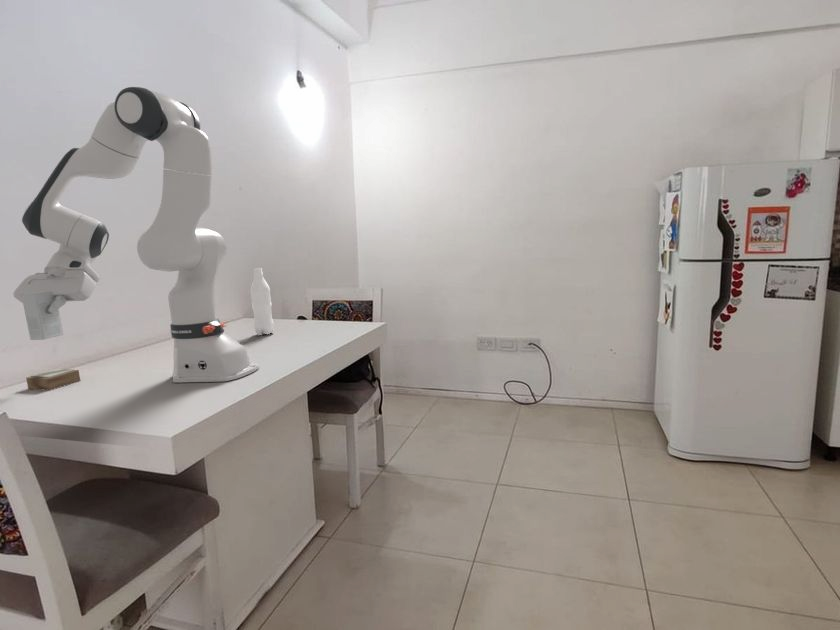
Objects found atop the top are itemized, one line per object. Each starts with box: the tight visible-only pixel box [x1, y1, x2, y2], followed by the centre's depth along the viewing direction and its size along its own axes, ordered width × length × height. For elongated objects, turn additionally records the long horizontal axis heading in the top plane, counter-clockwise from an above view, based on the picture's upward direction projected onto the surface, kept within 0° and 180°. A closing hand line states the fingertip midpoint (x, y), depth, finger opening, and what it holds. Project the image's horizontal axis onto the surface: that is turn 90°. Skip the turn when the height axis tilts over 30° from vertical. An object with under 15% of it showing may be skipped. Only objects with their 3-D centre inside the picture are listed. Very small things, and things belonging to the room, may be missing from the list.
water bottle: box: [249, 267, 275, 336], centre depth 181 cm, size 7×7×25 cm
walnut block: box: [25, 368, 81, 391], centre depth 128 cm, size 8×8×3 cm
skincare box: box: [21, 291, 64, 341], centre depth 126 cm, size 6×4×12 cm
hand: (40, 312), depth 125 cm, fingers closed on skincare box, 4 cm apart
